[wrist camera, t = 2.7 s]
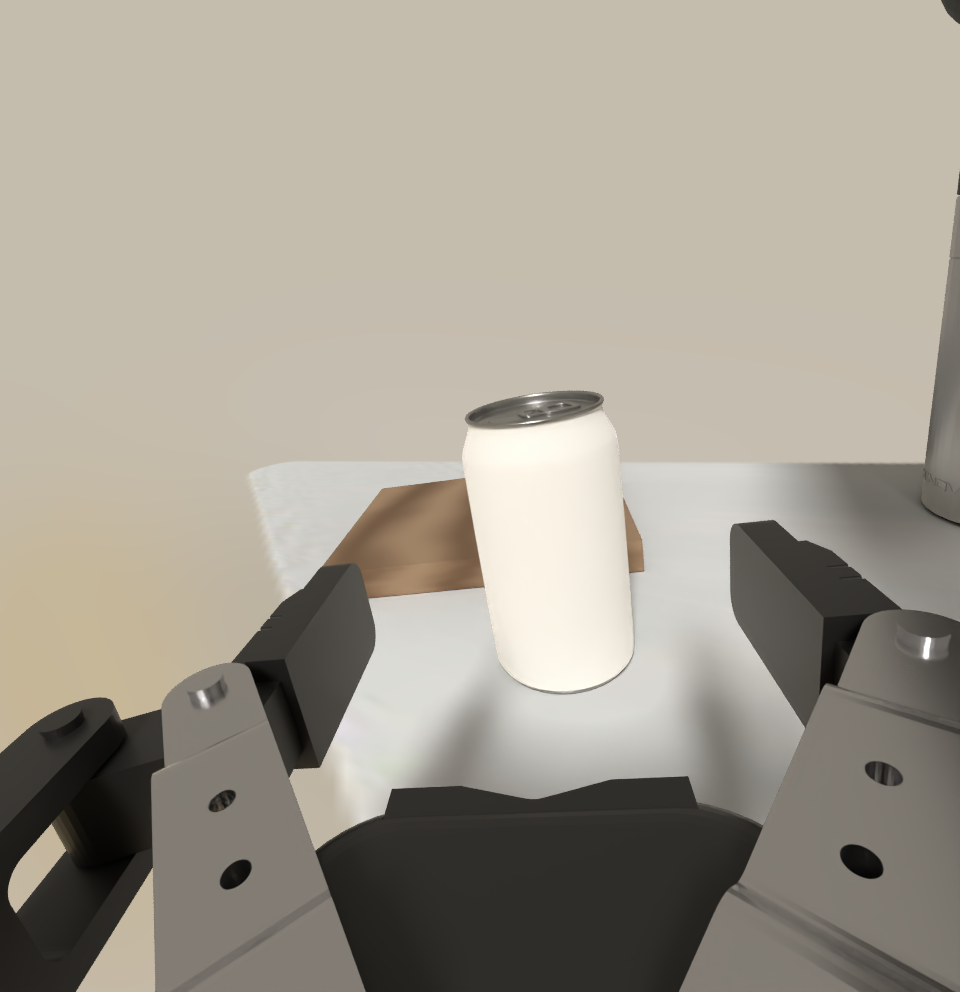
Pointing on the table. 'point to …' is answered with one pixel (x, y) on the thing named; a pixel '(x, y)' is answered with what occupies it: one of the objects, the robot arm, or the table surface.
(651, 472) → the table surface
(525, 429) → the can
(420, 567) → the serving board
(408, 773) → the table surface
